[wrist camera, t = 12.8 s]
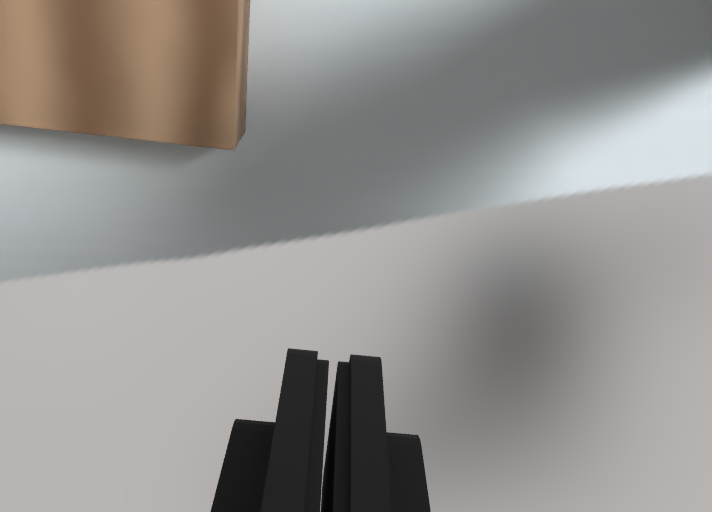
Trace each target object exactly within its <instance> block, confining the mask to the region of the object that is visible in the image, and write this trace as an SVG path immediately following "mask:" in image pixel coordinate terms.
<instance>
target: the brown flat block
mask: <svg viewBox="0 0 712 512" xmlns="http://www.w3.org/2000/svg"><path fill="white" fill-rule="evenodd" d="M249 13H250V0H0V124H6V125H15V126H24V127H33V128H42V129H50V130H59V131H68V132H77V133H86V134H95V135H103V136H112V137H121V138H130V139H139V140H148V141H156V142H165V143H174V144H183V145H192V146H201V147H209V148H218V149H227V150H234V149H235V147H236V146H237V144H238V142H239V141H240V139H241V138H242V136H243V134H244V133H245V116H246V90H247V64H248V39H249Z"/></svg>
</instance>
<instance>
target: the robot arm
mask: <svg viewBox="0 0 712 512" xmlns="http://www.w3.org/2000/svg"><path fill="white" fill-rule="evenodd" d="M317 355H318V352H317V351H309V350H299V349H288V351H287V357H286V363H285V369H284V375H283V381H282V387H281V393H280V398H279V404H278V410H277V417H276V422H263V421H252V420H241V419H240V420H239V419H236V420H235V421H234V424H233V427H232V431H231V435H230V439H229V443H228V446H227V450H226V454H225V458H224V462H223V466H222V470H221V474H220V478H219V481H218V485H217V489H216V493H215V497H214V501H213V505H212V509H211V512H320V501H321V485H322V484H321V483H322V468H323V451H324V435H325V434H324V433H325V418H326V401H327V400H326V399H327V385H328V368H329V367H328V366H329V361H328V360H317ZM321 512H430V504H429V497H428V490H427V483H426V476H425V469H424V462H423V455H422V448H421V442H420V438H419V436H418V435H409V434H397V433H387V432H386V420H385V407H384V392H383V377H382V364H381V358H380V357H372V356H371V357H370V356H361V355H350V361H349V362H338V367H337V373H336V382H335V389H334V397H333V405H332V413H331V420H330V428H329V436H328V445H327V451H326V459H325V467H324V475H323V486H322V502H321Z"/></svg>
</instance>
